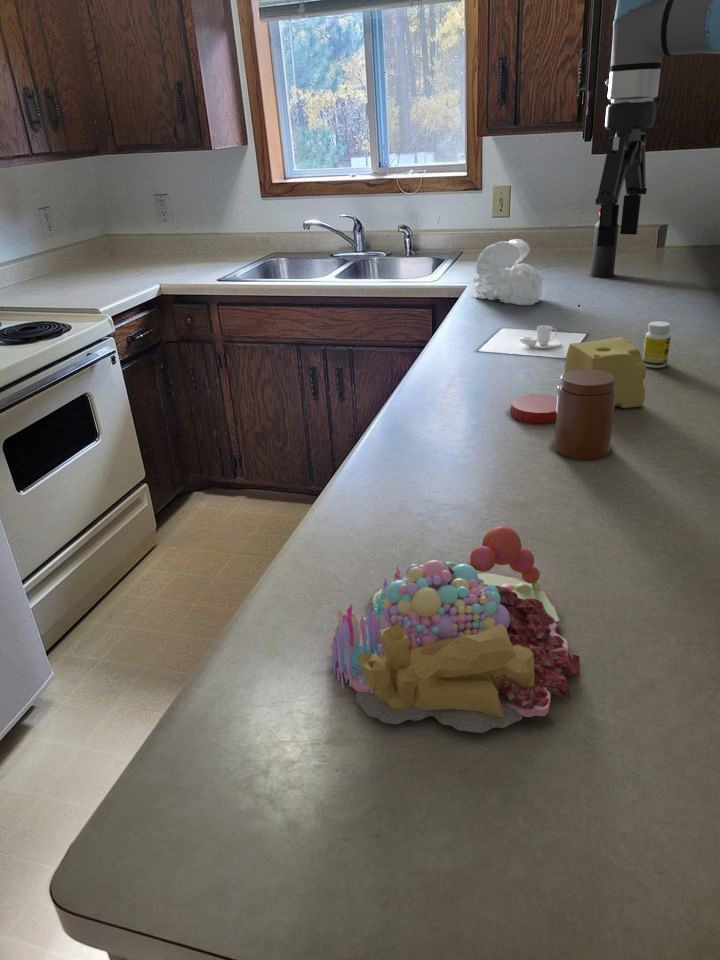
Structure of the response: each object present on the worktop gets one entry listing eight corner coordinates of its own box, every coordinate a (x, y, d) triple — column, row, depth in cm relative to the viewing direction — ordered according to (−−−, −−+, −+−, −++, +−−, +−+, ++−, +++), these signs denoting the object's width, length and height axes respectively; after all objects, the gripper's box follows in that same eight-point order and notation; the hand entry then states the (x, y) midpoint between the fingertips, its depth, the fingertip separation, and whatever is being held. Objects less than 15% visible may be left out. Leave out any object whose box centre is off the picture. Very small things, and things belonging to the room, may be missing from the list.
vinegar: (587, 276, 228) (593, 208, 219) (595, 272, 233) (600, 205, 224) (609, 278, 225) (616, 208, 216) (616, 274, 230) (623, 206, 221)
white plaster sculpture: (554, 274, 189) (492, 230, 192) (509, 337, 200) (451, 294, 203) (568, 264, 205) (510, 224, 207) (526, 323, 216) (471, 284, 218)
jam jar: (607, 438, 118) (614, 368, 112) (612, 460, 110) (620, 386, 105) (552, 436, 119) (557, 367, 114) (554, 458, 112) (559, 385, 107)
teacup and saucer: (517, 348, 164) (518, 330, 162) (526, 338, 170) (527, 321, 168) (557, 351, 160) (558, 332, 158) (564, 341, 167) (566, 323, 165)
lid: (505, 420, 127) (505, 409, 126) (517, 402, 134) (518, 392, 133) (558, 426, 123) (559, 415, 122) (568, 407, 130) (569, 397, 130)
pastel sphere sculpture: (613, 728, 63) (625, 641, 59) (339, 755, 62) (332, 669, 58) (529, 568, 85) (534, 498, 81) (327, 586, 84) (321, 516, 80)
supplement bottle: (667, 369, 146) (672, 327, 143) (641, 367, 148) (646, 326, 144) (666, 361, 150) (672, 321, 147) (641, 360, 152) (646, 320, 148)
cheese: (644, 407, 129) (651, 351, 124) (585, 413, 127) (590, 357, 123) (615, 388, 138) (621, 335, 133) (561, 394, 137) (565, 341, 132)
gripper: (628, 101, 128) (616, 228, 138) (583, 104, 110) (572, 250, 119) (674, 99, 125) (658, 230, 134) (635, 101, 106) (619, 253, 116)
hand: (617, 240), depth 127 cm, fingers open, 13 cm apart
